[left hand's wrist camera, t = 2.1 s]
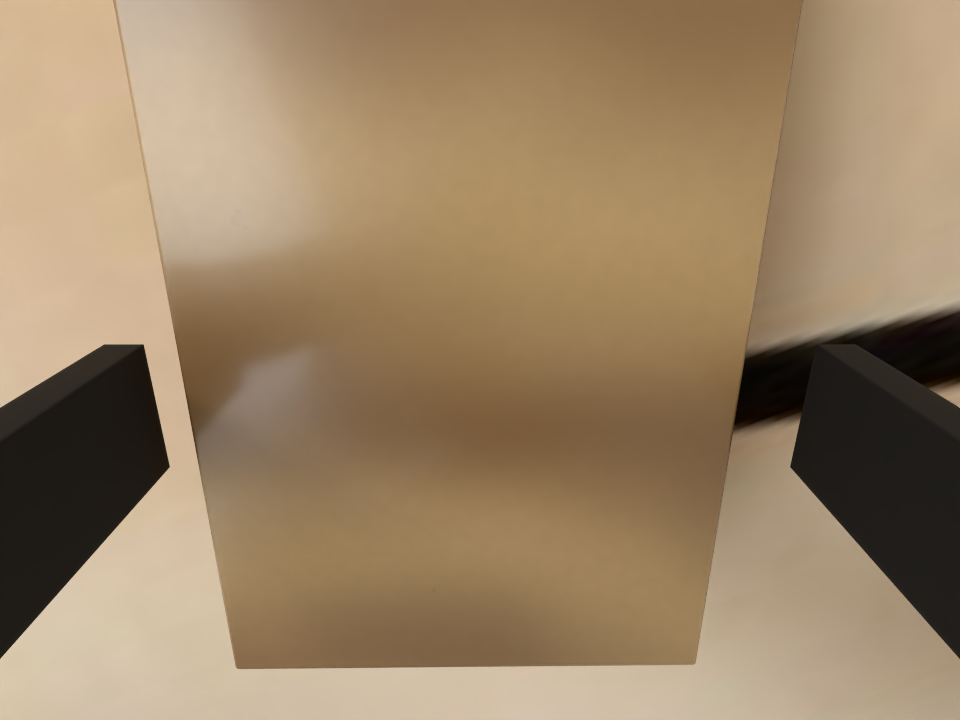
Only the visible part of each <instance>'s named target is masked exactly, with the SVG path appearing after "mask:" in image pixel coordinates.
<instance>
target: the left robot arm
mask: <svg viewBox="0 0 960 720" xmlns="http://www.w3.org/2000/svg"><path fill="white" fill-rule="evenodd" d="M169 467H170V466H169V461H168V457H167V452H166V447H165V443H164V438H163V433H162V429H161V424H160V419H159V415H158V410H157V405H156V401H155V396H154V391H153V387H152V382H151V377H150V372H149V368H148V363H147V358H146V354H145V349H144V345H103V346H101V347H100V348H98V349H96V350H95V351H93V352H91V353H90V354H88V355H86V356H85V357H83V358H81V359H80V360H78V361H77V362H75V363H73V364H72V365H70V366H68V367H67V368H65V369H63V370H62V371H60V372H58V373H57V374H55V375H53V376H52V377H50V378H49V379H47V380H45V381H44V382H42V383H40V384H39V385H37V386H35V387H34V388H32V389H30V390H29V391H27V392H26V393H24V394H22V395H21V396H19V397H17V398H16V399H14V400H12V401H11V402H9V403H7V404H6V405H4V406H3V407H1V408H0V658H1V657H2V656H3V655H4V654H5V653H6V652H7V650H8V649H9V648H10V647H11V646H12V645H13V644H14V643H15V641H16V640H17V639H18V638H19V637H20V636H21V635H22V634H23V632H24V631H25V630H26V629H27V628H28V627H29V626H30V624H31V623H32V622H33V621H34V620H35V619H36V618H37V617H38V615H39V614H40V613H41V612H42V611H43V610H44V609H45V608H46V606H47V605H48V604H49V603H50V602H51V601H52V600H53V598H54V597H55V596H56V595H57V594H58V593H59V592H60V591H61V589H62V588H63V587H64V586H65V585H66V584H67V583H68V581H69V580H70V579H71V578H72V577H73V576H74V575H75V574H76V572H77V571H78V570H79V569H80V568H81V567H82V566H83V565H84V563H85V562H86V561H87V560H88V559H89V558H90V557H91V555H92V554H93V553H94V552H95V551H96V550H97V549H98V548H99V546H100V545H101V544H102V543H103V542H104V541H105V540H106V539H107V537H108V536H109V535H110V534H111V533H112V532H113V531H114V529H115V528H116V527H117V526H118V525H119V524H120V523H121V522H122V520H123V519H124V518H125V517H126V516H127V515H128V514H129V512H130V511H131V510H132V509H133V508H134V507H135V506H136V505H137V503H138V502H139V501H140V500H141V499H142V498H143V497H144V496H145V494H146V493H147V492H148V491H149V490H150V489H151V488H152V486H153V485H154V484H155V483H156V482H157V481H158V480H159V479H160V477H161V476H162V475H163V474H164V473H165V472H166V471H167V470H168V468H169ZM790 467H791V468H792V470H793V471H794V472H795V473H796V474H797V475H798V476H799V477H800V479H801V480H802V481H803V482H804V483H805V484H806V485H807V486H808V488H809V489H810V490H811V491H812V492H813V493H814V494H815V496H816V497H817V498H818V499H819V500H820V501H821V502H822V503H823V505H824V506H825V507H826V508H827V509H828V510H829V511H830V512H831V514H832V515H833V516H834V517H835V518H836V519H837V520H838V522H839V523H840V524H841V525H842V526H843V527H844V528H845V529H846V531H847V532H848V533H849V534H850V535H851V536H852V537H853V539H854V540H855V541H856V542H857V543H858V544H859V545H860V546H861V548H862V549H863V550H864V551H865V552H866V553H867V554H868V555H869V557H870V558H871V559H872V560H873V561H874V562H875V563H876V565H877V566H878V567H879V568H880V569H881V570H882V571H883V572H884V574H885V575H886V576H887V577H888V578H889V579H890V580H891V581H892V583H893V584H894V585H895V586H896V587H897V588H898V589H899V591H900V592H901V593H902V594H903V595H904V596H905V597H906V598H907V600H908V601H909V602H910V603H911V604H912V605H913V606H914V608H915V609H916V610H917V611H918V612H919V613H920V614H921V615H922V617H923V618H924V619H925V620H926V621H927V622H928V623H929V624H930V626H931V627H932V628H933V629H934V630H935V631H936V632H937V634H938V635H939V636H940V637H941V638H942V639H943V640H944V641H945V643H946V644H947V645H948V646H949V647H950V648H951V649H952V650H953V652H954V653H955V654H956V655H957V656H958V657H959V658H960V408H959V407H957V406H956V405H954V404H953V403H951V402H949V401H948V400H946V399H944V398H943V397H941V396H939V395H938V394H936V393H934V392H933V391H931V390H930V389H928V388H926V387H925V386H923V385H921V384H920V383H918V382H916V381H915V380H913V379H911V378H910V377H908V376H907V375H905V374H903V373H902V372H900V371H898V370H897V369H895V368H893V367H892V366H890V365H888V364H887V363H885V362H883V361H882V360H880V359H879V358H877V357H875V356H874V355H872V354H870V353H869V352H867V351H865V350H864V349H862V348H860V347H859V346H857V345H816V349H815V354H814V358H813V363H812V368H811V372H810V377H809V382H808V386H807V391H806V396H805V401H804V405H803V410H802V415H801V419H800V424H799V429H798V433H797V438H796V443H795V447H794V452H793V457H792V461H791V466H790Z"/></svg>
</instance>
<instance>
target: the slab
mask: <svg viewBox="0 0 960 720" xmlns="http://www.w3.org/2000/svg"><path fill="white" fill-rule="evenodd" d="M113 1H114V7H115V12H116V18H117V23H118V29H119V34H120V39H121V45H122V50H123V56H124V61H125V67H126V72H127V77H128V83H129V88H130V94H131V99H132V105H133V110H134V116H135V121H136V126H137V132H138V137H139V143H140V148H141V154H142V159H143V164H144V170H145V175H146V181H147V186H148V192H149V197H150V203H151V208H152V213H153V219H154V224H155V230H156V235H157V241H158V246H159V252H160V257H161V262H162V268H163V273H164V279H165V284H166V290H167V295H168V300H169V306H170V311H171V317H172V322H173V328H174V333H175V339H176V344H177V349H178V355H179V360H180V366H181V371H182V377H183V382H184V387H185V393H186V398H187V404H188V409H189V415H190V420H191V426H192V431H193V436H194V442H195V447H196V453H197V458H198V464H199V469H200V475H201V480H202V485H203V491H204V496H205V502H206V507H207V513H208V518H209V523H210V529H211V534H212V540H213V545H214V551H215V556H216V562H217V567H218V572H219V578H220V583H221V589H222V594H223V600H224V605H225V610H226V616H227V621H228V627H229V632H230V638H231V643H232V649H233V654H234V659H235V665H236V668H238V669H282V668H389V667H495V666H602V665H693V664H695V663H696V656H697V650H698V644H699V638H700V632H701V625H702V619H703V613H704V607H705V601H706V594H707V588H708V582H709V576H710V570H711V563H712V557H713V551H714V545H715V539H716V533H717V526H718V520H719V514H720V508H721V502H722V495H723V489H724V483H725V477H726V471H727V464H728V458H729V452H730V446H731V440H732V434H733V427H734V421H735V415H736V409H737V403H738V396H739V390H740V384H741V378H742V372H743V365H744V359H745V353H746V347H747V341H748V335H749V328H750V322H751V316H752V310H753V304H754V297H755V291H756V285H757V279H758V273H759V266H760V260H761V254H762V248H763V242H764V235H765V229H766V223H767V217H768V211H769V205H770V198H771V192H772V186H773V180H774V174H775V167H776V161H777V155H778V149H779V143H780V136H781V130H782V124H783V118H784V112H785V106H786V99H787V93H788V87H789V81H790V75H791V68H792V62H793V56H794V50H795V44H796V37H797V31H798V25H799V19H800V13H801V7H802V0H113Z"/></svg>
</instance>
